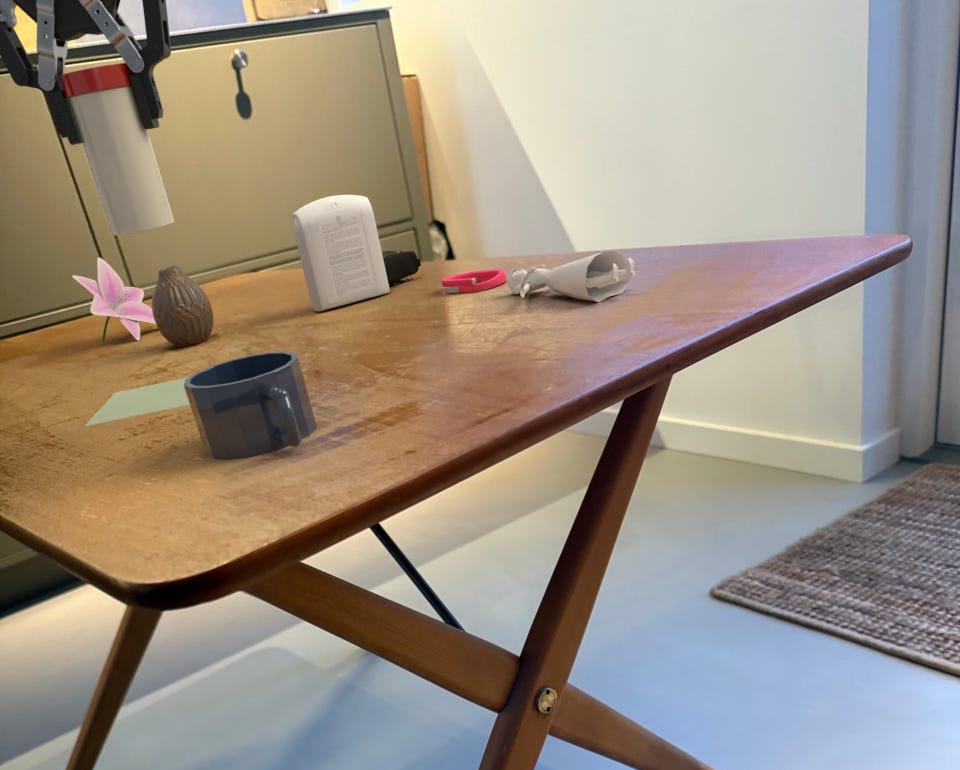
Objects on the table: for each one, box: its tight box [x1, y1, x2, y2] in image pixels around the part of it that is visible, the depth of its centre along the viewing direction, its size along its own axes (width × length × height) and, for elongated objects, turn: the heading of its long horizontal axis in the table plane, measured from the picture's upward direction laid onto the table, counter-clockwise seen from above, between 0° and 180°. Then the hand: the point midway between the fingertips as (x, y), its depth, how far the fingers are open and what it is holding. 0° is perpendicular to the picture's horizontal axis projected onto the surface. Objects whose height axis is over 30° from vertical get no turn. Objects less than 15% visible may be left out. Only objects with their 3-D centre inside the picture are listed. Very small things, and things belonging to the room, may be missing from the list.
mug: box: [184, 350, 318, 460], centre depth 79 cm, size 12×9×6 cm
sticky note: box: [83, 376, 190, 428], centre depth 101 cm, size 14×12×1 cm
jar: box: [59, 62, 175, 237], centre depth 81 cm, size 5×5×12 cm
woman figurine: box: [506, 249, 636, 303], centre depth 108 cm, size 12×4×18 cm
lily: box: [71, 257, 156, 342], centre depth 136 cm, size 12×12×10 cm
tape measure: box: [382, 249, 422, 286], centre depth 135 cm, size 7×7×4 cm
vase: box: [151, 265, 214, 348], centre depth 123 cm, size 7×7×9 cm
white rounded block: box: [292, 194, 391, 312], centre depth 126 cm, size 10×4×12 cm, turn 116°
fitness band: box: [441, 268, 507, 294], centre depth 122 cm, size 8×6×2 cm
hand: (114, 135), depth 80 cm, fingers closed on jar, 5 cm apart
